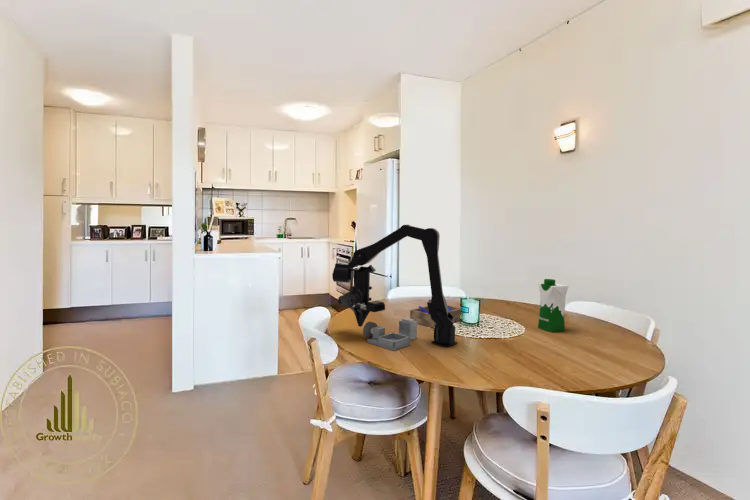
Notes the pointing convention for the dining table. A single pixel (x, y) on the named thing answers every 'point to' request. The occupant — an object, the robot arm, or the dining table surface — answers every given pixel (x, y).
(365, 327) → the wheel
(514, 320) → the dining table surface
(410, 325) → the block
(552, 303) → the milk carton
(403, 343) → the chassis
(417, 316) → the toy corral
